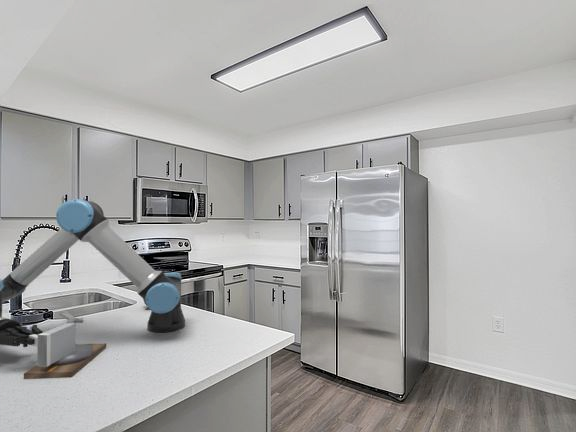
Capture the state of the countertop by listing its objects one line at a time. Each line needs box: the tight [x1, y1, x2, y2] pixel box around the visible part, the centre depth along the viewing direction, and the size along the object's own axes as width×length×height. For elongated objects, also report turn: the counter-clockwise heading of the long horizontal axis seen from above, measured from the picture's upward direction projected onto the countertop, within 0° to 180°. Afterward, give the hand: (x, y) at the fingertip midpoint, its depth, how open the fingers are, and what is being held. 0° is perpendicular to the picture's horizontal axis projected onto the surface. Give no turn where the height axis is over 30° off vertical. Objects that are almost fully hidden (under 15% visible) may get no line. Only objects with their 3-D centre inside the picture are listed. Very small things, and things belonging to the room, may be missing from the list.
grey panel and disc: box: [36, 322, 93, 367], centre depth 104 cm, size 17×13×11 cm
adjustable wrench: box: [58, 310, 84, 325], centre depth 151 cm, size 25×6×2 cm, turn 43°
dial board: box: [23, 343, 107, 380], centre depth 105 cm, size 13×22×2 cm, turn 5°
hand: (43, 342), depth 98 cm, fingers closed
